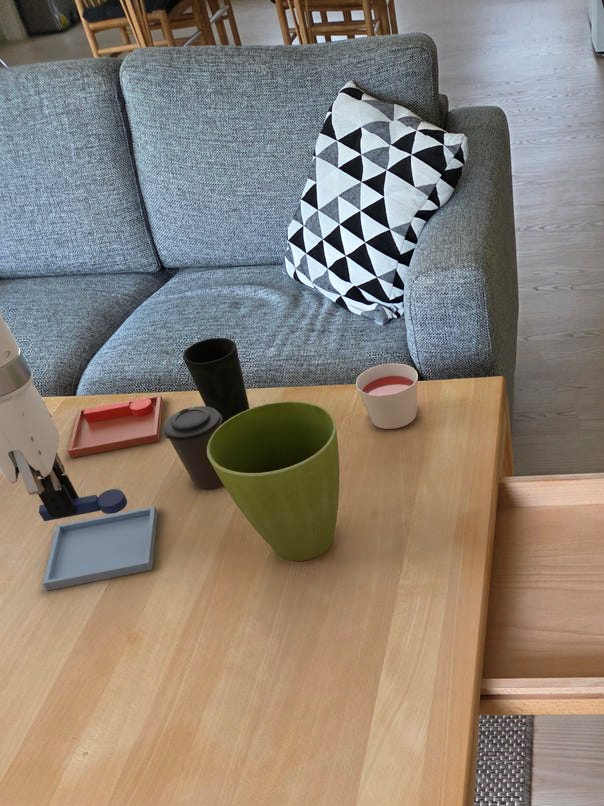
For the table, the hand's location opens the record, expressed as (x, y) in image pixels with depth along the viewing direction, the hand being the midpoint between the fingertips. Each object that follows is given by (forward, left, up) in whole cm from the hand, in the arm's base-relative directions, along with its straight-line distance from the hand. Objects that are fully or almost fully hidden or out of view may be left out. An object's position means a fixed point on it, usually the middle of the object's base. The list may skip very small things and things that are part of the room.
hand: (66, 508), depth 108 cm
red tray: (+1, +31, -7) cm, 32 cm away
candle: (+43, +19, -8) cm, 47 cm away
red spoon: (+1, +35, -7) cm, 35 cm away
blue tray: (+2, 0, -7) cm, 8 cm away
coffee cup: (+16, +12, -8) cm, 21 cm away
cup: (+19, +26, -8) cm, 33 cm away
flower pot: (+28, -7, -8) cm, 30 cm away
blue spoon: (+2, 0, -1) cm, 2 cm away
